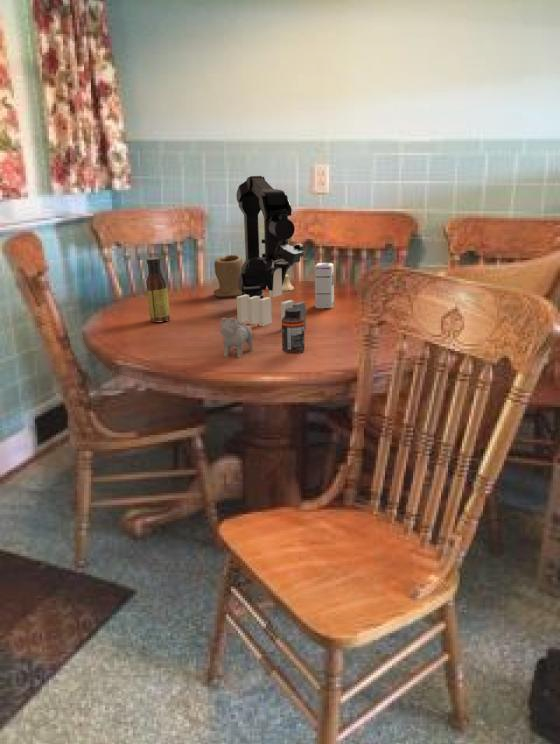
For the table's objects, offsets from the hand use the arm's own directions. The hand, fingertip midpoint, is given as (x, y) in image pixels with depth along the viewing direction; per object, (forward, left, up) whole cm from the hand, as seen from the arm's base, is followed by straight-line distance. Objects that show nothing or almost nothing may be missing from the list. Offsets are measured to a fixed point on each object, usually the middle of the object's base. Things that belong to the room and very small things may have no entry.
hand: (275, 288), depth 197 cm
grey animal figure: (+9, -29, -12) cm, 32 cm away
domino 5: (+4, 0, -11) cm, 12 cm away
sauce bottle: (-36, -14, -12) cm, 40 cm away
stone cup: (-39, +28, -12) cm, 50 cm away
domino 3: (-4, 0, -11) cm, 12 cm away
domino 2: (-8, 0, -11) cm, 14 cm away
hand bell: (-31, +48, -12) cm, 59 cm away
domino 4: (0, 0, -2) cm, 2 cm away
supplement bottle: (+20, -19, -12) cm, 30 cm away
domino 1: (-12, 0, -11) cm, 17 cm away
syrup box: (-2, +30, -12) cm, 32 cm away
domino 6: (+9, 0, -11) cm, 14 cm away
